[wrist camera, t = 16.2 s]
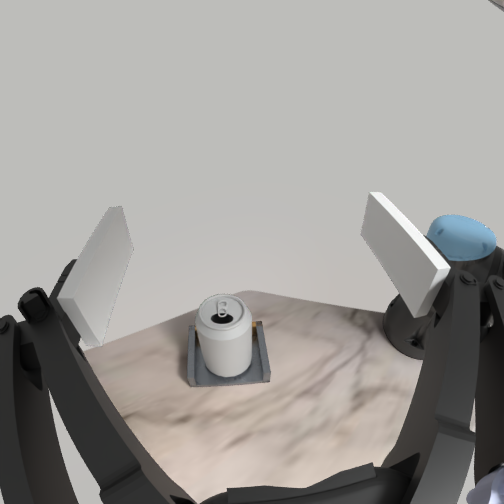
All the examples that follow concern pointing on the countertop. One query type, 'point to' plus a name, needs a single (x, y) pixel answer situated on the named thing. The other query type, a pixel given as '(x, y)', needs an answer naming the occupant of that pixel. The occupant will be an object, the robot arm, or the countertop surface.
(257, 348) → the open rectangular tray
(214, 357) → the can
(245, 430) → the countertop surface
